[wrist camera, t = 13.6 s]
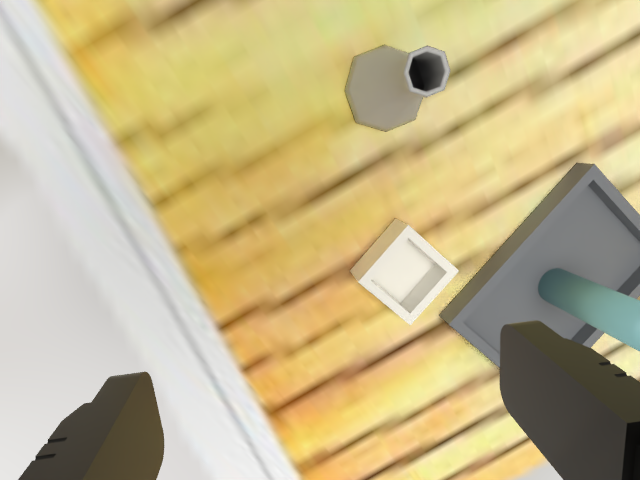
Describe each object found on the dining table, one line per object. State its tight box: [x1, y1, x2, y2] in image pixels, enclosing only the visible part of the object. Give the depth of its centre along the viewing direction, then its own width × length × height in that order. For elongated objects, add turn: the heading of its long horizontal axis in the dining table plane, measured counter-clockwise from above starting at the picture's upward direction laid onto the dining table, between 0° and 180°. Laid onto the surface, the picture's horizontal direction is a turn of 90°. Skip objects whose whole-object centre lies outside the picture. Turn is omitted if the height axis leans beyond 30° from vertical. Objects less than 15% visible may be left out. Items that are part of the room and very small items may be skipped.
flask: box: [345, 45, 450, 132], centre depth 34 cm, size 7×7×10 cm
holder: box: [350, 219, 459, 325], centre depth 40 cm, size 7×7×4 cm
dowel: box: [538, 268, 640, 351], centre depth 39 cm, size 4×4×11 cm
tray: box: [439, 163, 640, 368], centre depth 44 cm, size 20×14×2 cm
